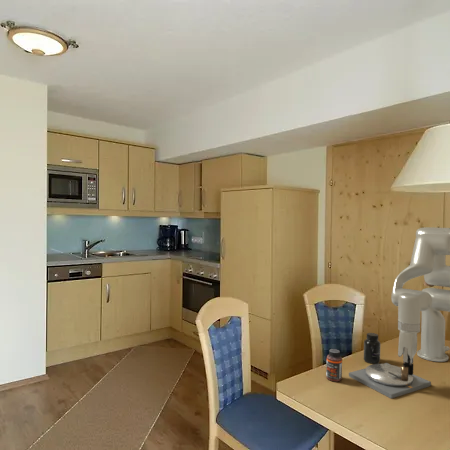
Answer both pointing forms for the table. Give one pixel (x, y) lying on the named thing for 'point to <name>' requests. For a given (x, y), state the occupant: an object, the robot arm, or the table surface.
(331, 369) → the supplement bottle
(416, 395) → the table surface
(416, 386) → the base plate
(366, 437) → the table surface
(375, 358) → the supplement bottle
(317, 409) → the table surface
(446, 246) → the robot arm
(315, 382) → the table surface
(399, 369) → the dial
